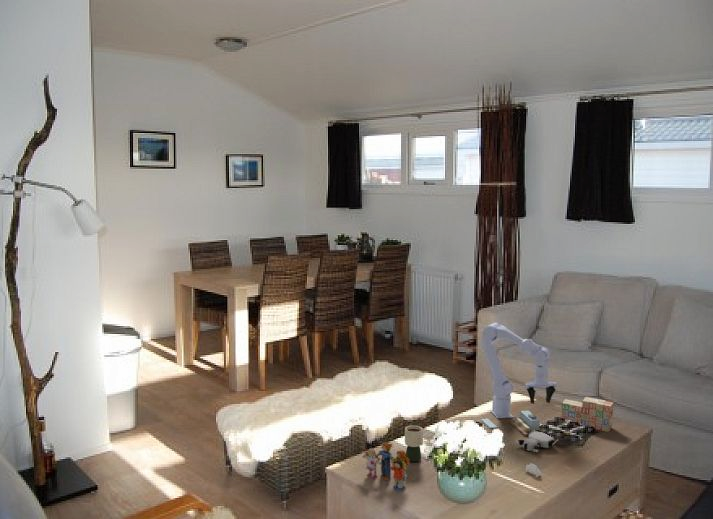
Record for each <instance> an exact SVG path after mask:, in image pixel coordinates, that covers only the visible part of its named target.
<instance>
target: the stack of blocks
mask: <svg viewBox="0 0 713 519" xmlns="http://www.w3.org/2000/svg"><path fill="white" fill-rule="evenodd" d="M613 416H614V402H612V401H608V400H605V399H604V400H603V399H600V398H594V397H588V396H585V397H584V399H583V400H582V402H581V401H577V400H571V399H567V398H566V399H564V400H563V402H561V417H560V418H565V419H568V420H572V421H576V422H580V423H581V424H582V425H591V426H594V427H595V428H596V429H595V430H596V431H602V432H606V433H610V431H611V429H612V427H613V426H612V425H613Z"/></svg>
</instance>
